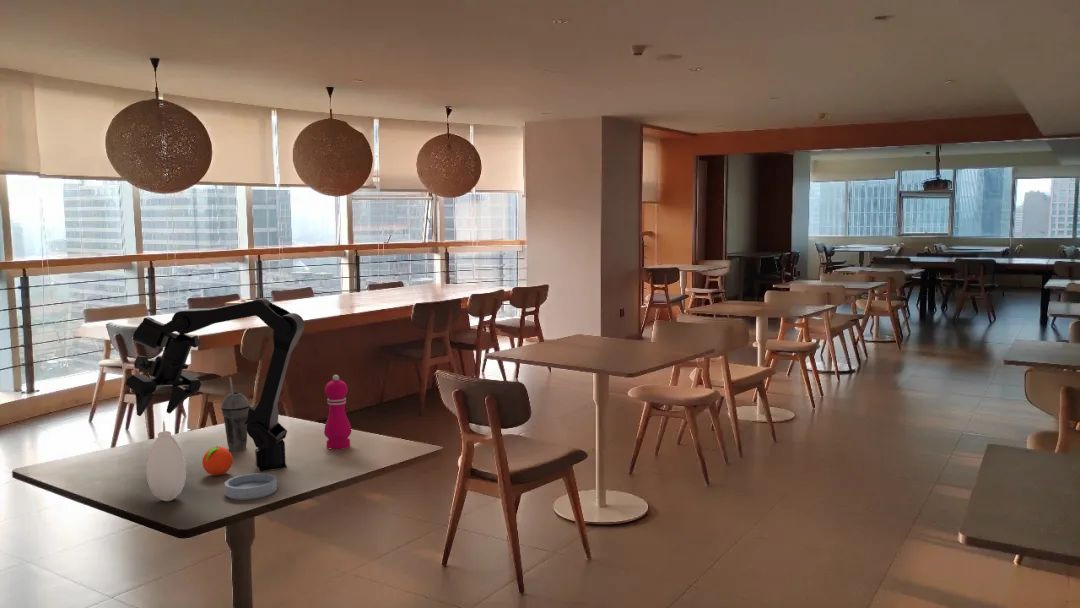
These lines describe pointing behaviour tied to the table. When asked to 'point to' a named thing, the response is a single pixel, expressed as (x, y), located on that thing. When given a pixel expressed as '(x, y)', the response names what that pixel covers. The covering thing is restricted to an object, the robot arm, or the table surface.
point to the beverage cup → (235, 419)
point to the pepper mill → (337, 415)
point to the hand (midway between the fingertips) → (153, 414)
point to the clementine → (217, 461)
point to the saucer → (251, 486)
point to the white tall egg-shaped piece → (166, 467)
